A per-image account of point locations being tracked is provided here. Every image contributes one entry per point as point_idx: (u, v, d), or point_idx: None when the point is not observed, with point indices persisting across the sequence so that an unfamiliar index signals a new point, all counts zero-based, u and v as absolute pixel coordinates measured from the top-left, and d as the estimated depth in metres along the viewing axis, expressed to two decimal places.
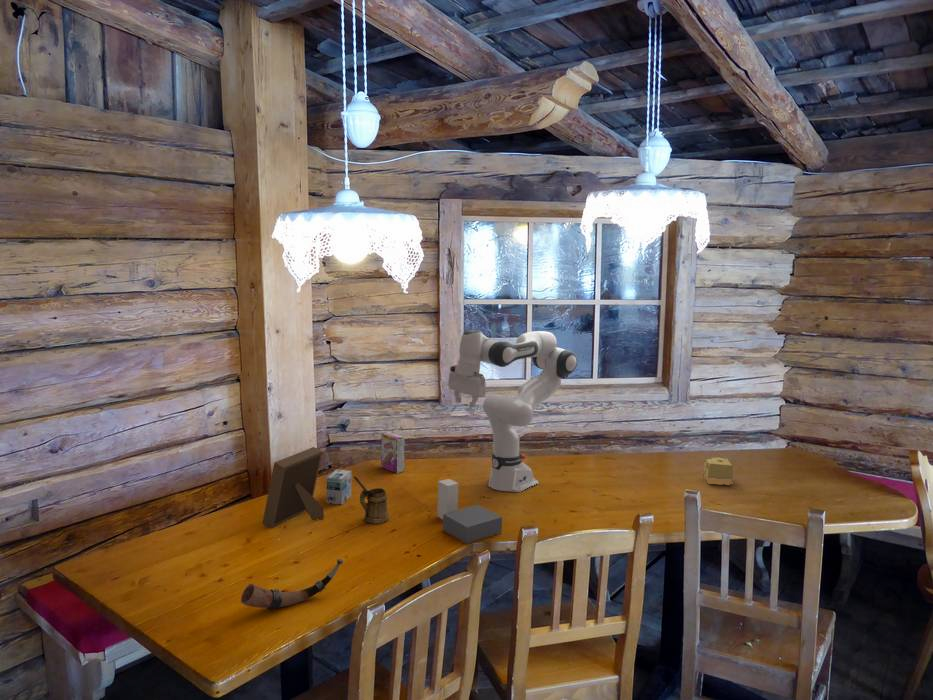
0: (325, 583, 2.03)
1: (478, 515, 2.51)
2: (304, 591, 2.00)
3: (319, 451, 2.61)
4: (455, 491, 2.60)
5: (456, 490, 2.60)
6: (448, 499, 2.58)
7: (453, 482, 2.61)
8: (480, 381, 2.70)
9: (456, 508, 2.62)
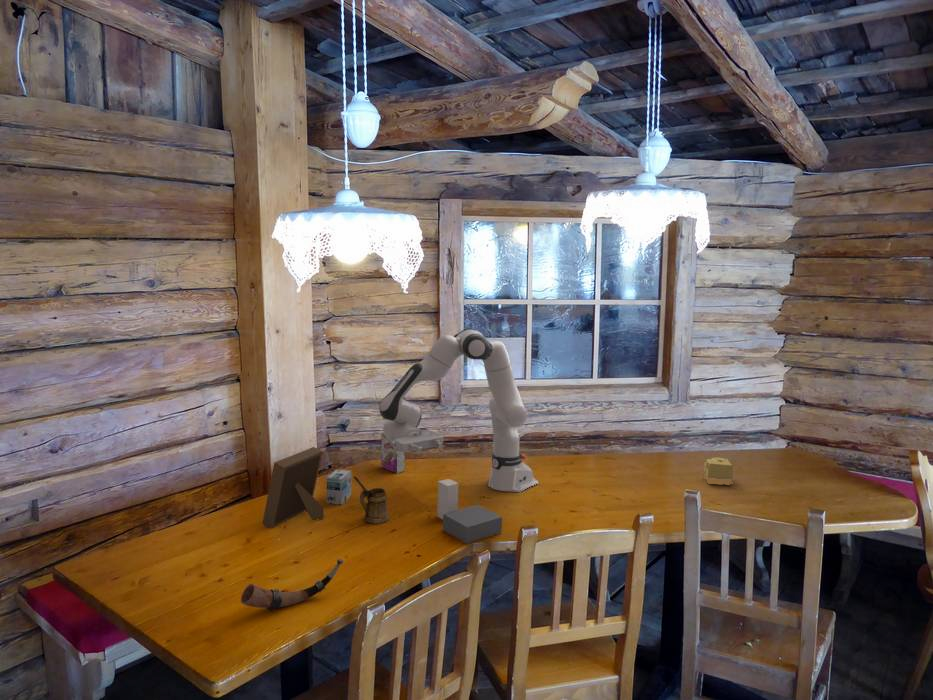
0: (325, 583, 2.03)
1: (478, 515, 2.51)
2: (304, 591, 2.00)
3: (319, 451, 2.61)
4: (455, 491, 2.60)
5: (456, 490, 2.60)
6: (448, 499, 2.58)
7: (453, 482, 2.61)
8: None
9: (456, 508, 2.62)
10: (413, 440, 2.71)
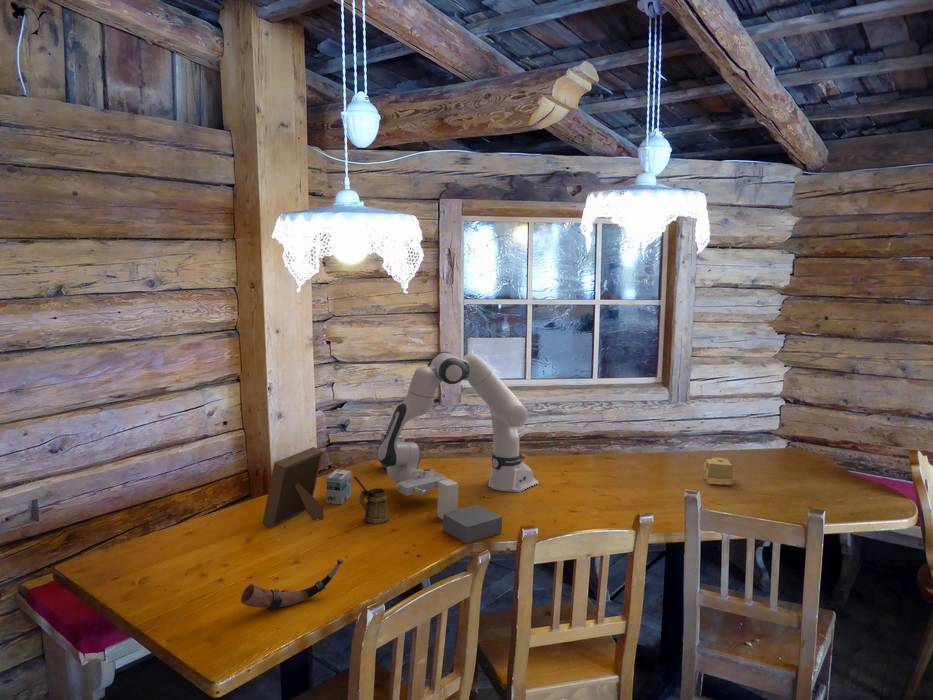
0: (325, 583, 2.03)
1: (478, 515, 2.51)
2: (304, 591, 2.00)
3: (319, 451, 2.61)
4: (455, 491, 2.60)
5: (456, 490, 2.60)
6: (448, 499, 2.58)
7: (453, 482, 2.61)
8: (398, 489, 2.72)
9: (456, 508, 2.62)
10: (417, 483, 2.71)
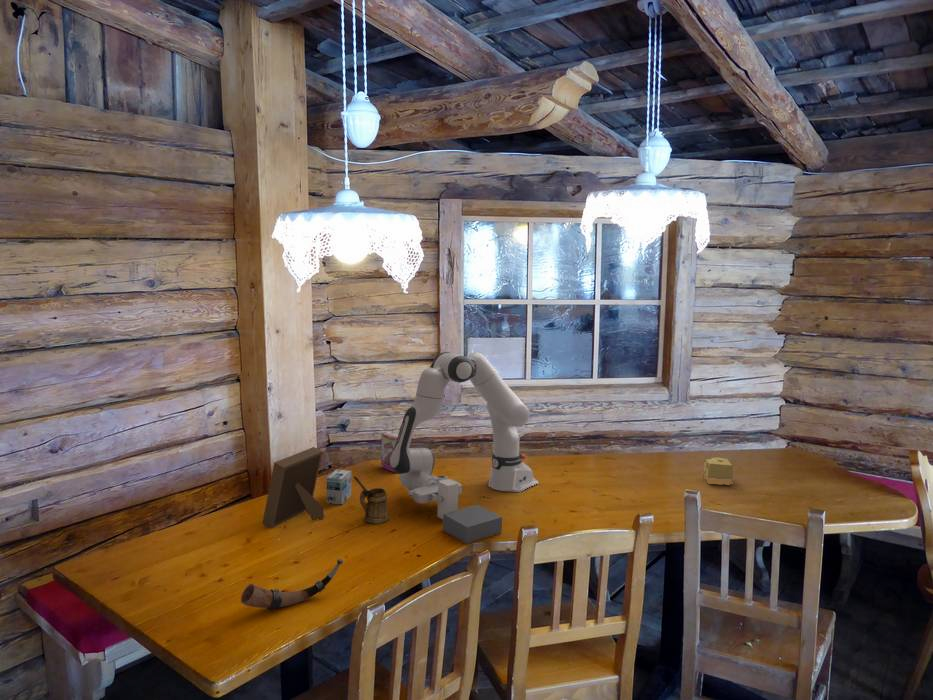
0: (325, 583, 2.03)
1: (478, 515, 2.51)
2: (304, 591, 2.00)
3: (319, 451, 2.61)
4: (455, 491, 2.60)
5: (456, 490, 2.60)
6: (448, 499, 2.58)
7: (453, 482, 2.61)
8: None
9: (456, 508, 2.62)
10: (431, 490, 2.64)
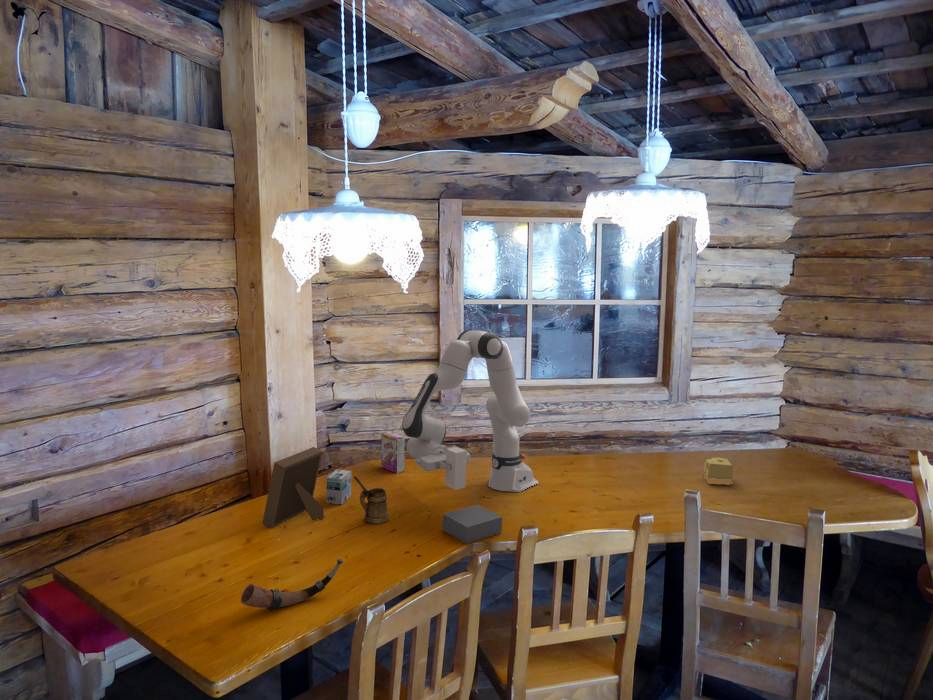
0: (325, 583, 2.03)
1: (478, 515, 2.51)
2: (304, 591, 2.00)
3: (319, 451, 2.61)
4: (463, 459, 2.54)
5: (464, 458, 2.54)
6: (456, 466, 2.53)
7: (461, 450, 2.55)
8: (419, 464, 2.59)
9: (464, 476, 2.56)
10: (439, 458, 2.58)
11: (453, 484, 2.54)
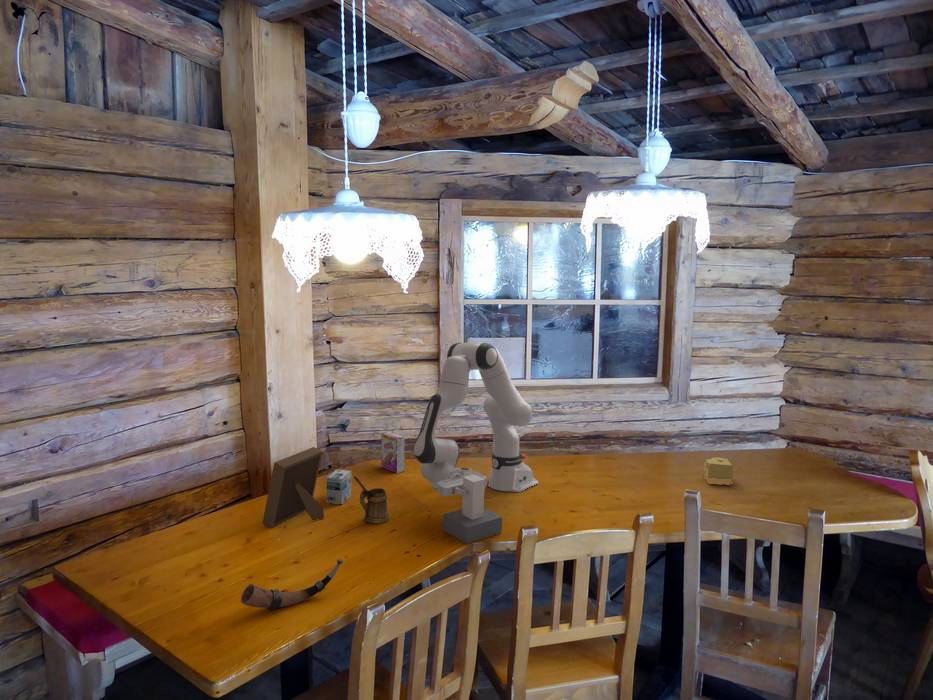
0: (325, 583, 2.03)
1: None
2: (304, 591, 2.00)
3: (319, 451, 2.61)
4: (481, 488, 2.47)
5: (482, 486, 2.48)
6: (474, 496, 2.46)
7: (479, 478, 2.49)
8: None
9: (482, 505, 2.49)
10: (456, 483, 2.51)
11: (470, 513, 2.48)
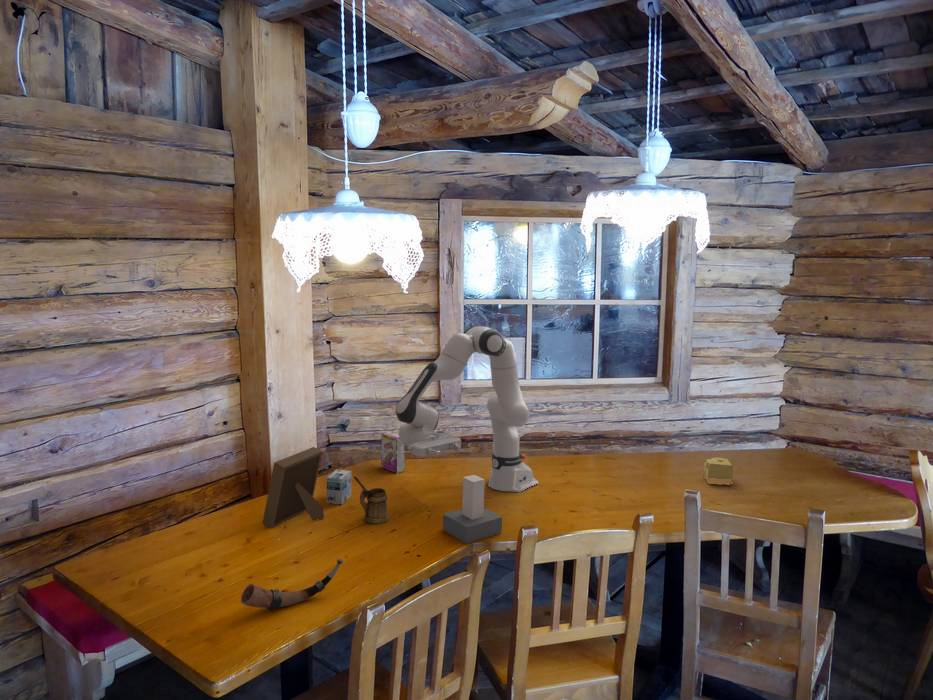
0: (325, 583, 2.03)
1: None
2: (304, 591, 2.00)
3: (319, 451, 2.61)
4: (481, 488, 2.47)
5: (482, 486, 2.48)
6: (474, 496, 2.46)
7: (479, 478, 2.49)
8: None
9: (482, 505, 2.49)
10: (430, 444, 2.62)
11: (470, 513, 2.48)
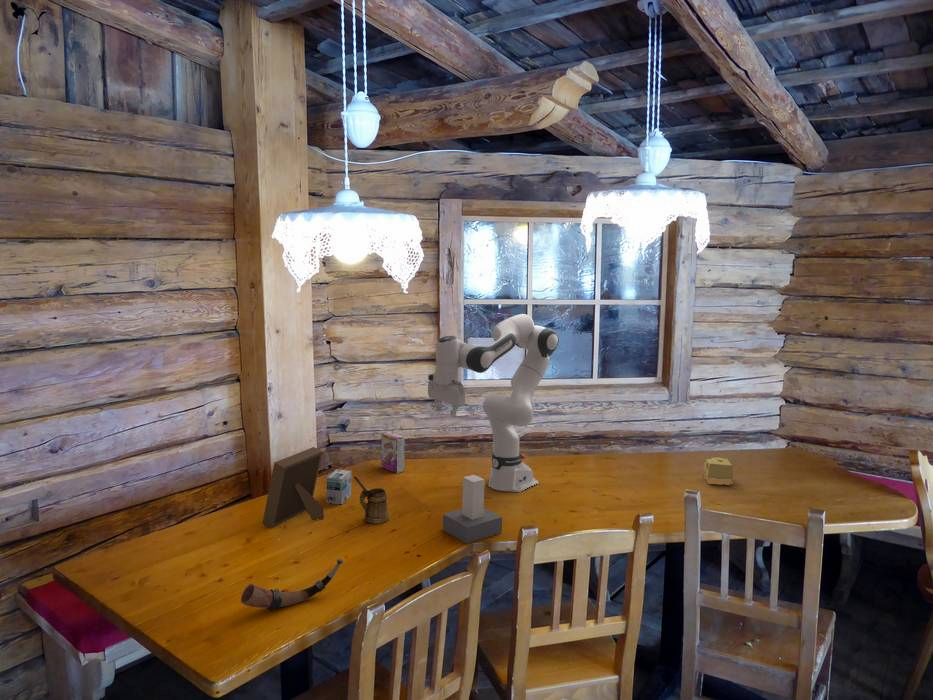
0: (325, 583, 2.03)
1: None
2: (304, 591, 2.00)
3: (319, 451, 2.61)
4: (481, 488, 2.47)
5: (482, 486, 2.48)
6: (474, 496, 2.46)
7: (479, 478, 2.49)
8: (459, 390, 2.62)
9: (482, 505, 2.49)
10: None
11: (470, 513, 2.48)
